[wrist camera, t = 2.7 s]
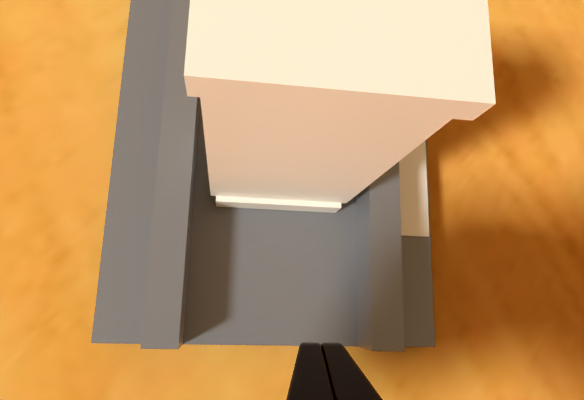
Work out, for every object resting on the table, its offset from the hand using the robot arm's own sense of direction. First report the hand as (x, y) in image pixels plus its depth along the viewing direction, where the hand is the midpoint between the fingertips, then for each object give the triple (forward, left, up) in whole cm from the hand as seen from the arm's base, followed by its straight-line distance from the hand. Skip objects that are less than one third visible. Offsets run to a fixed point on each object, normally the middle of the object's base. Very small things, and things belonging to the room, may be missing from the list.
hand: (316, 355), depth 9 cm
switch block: (+7, +1, -10) cm, 12 cm away
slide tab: (+6, +1, -8) cm, 10 cm away
